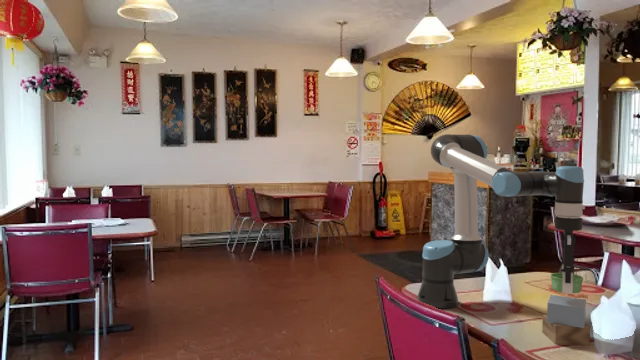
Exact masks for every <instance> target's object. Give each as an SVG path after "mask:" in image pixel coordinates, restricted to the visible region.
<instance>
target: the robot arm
mask: <svg viewBox="0 0 640 360" xmlns="http://www.w3.org/2000/svg"><path fill="white" fill-rule="evenodd" d="M430 146H431V147H430V155H431V158H432V159H433V160H434V161H435V162H436V163H437V164H439V165H440V166H443V167H444V168H449V170H450V171H451V172H452V173H453V174H454V177H453V178H454V179H453V180H454V182H453V186H454V189H453V190H454V191H453V192H454V235H453V236H451V239H450V240H449V239H448V240H447V239H441V240H439V239H437V240H436V239H435V240H432V241H428V242H426V243H425V244H424V245H423V247H422V255H421V256H422V283H421V285H420V288H419V291H418V293H417V300H419V301H421V302H423V303H426V304H429V305H432V306H435V307H437V308H436V309H452V308H454V307H457V306H458V305H459V297H458V294H457V290H456V287H455V285H454V279H455V278H454V277H455V276H454V275H457V274H465V273H467V274H468V273H475V272H480V271H482V270H483V269H484V268H486V266H487V265H488V262H489V258H490V255H489V249H488V248H487V245H486V244H485V243H484V242H483V238H482V237H481V236H480V235H479V231H478V229H479V228H478V227H479V226H478V224H479V223H478V219H479V218H478V181H479V182H481V183H484V184H485V185H487V186H489V187H490V188H492V190H493V192H494V193H495V195H497V196H498V197H507V198H510V197H522V196H550V197H551V196H552V197H555V200H554V201H555V202H554V214H555V215H556V216H555V217H554V228H555V229H556V230H560V231H562V233H561V234H560V241H561V242H560V244H561V246H560V247H561V269H560V273H563V284H562V292H561V294H567V295H569V294H570V295H573V294H574V293H573V274H574V272H575V271H574V270H575V268H574V255H575V253H574V251H575V249H576V247H575V245H576V242H577V241H576V240H577V236H576V235H574V231H576V232H577V231H578V232H579V231H582V230H583V218H582V216H583V210H585V209H586V207H585V206H584V205H583V202H584V201H583V200H584V199H583V197H584V183H585V179H584V176H585V175H584V168H583V167H581V166H577V165H575V166H571V165H570V166H569V165H562V166H561V165H560V166H557V167H556V169H555V170H556V171H555V172H553V171H551V172H550V171H539V170H537V171H536V170H534V171H515V170H512V169H510V168H508V167H506V166H504V165H503V166H502V165H500V164H498V163H496V162H493V161H491V160H489V159H487V156H488V147H487V144H486V142H485V141H484V140H483V139H482V137H480V136H479V135H473V134H449V133H448V134H446V133H445V134H442V135H439V136H438V137H436V139H434V141H433V142H432V144H431V145H430Z"/></svg>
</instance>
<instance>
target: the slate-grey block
mask: <svg viewBox="0 0 640 360" xmlns="http://www.w3.org/2000/svg"><path fill="white" fill-rule="evenodd" d="M547 301H548V302H547V306H546V307H547V311H546V315H547V322H549V323H555V324H561V325H568V326H574V327H580V328H584V326H585V323H586V318H587V317H586V316H587V315H586V314H587V313H586V311H587V299H586V298H585V299H584V298H577V297H570V296H563V295H553V294H550V296H549V299H548V300H547Z"/></svg>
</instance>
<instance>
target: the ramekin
mask: <svg viewBox="0 0 640 360" xmlns="http://www.w3.org/2000/svg"><path fill="white" fill-rule="evenodd" d="M550 278H551V289H552V290H554V291H556V292H560V293H562V284H563V273H561V272H553V273H551V274H550ZM583 281H584V277H583V276H581V275H579V274H575V273H573V294H579V293H581V292H582V287H583Z"/></svg>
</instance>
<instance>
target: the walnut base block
mask: <svg viewBox="0 0 640 360" xmlns="http://www.w3.org/2000/svg"><path fill="white" fill-rule="evenodd" d="M541 328H542V330H541V331H542V334H543V335H544V336H546V338H548V339H549V340H550V341H551V342H552V343H553V344H554V345H556V344H560V345H562V346H567V345H568V346H590V345H591V343H590V342H591V326H590V325H589V324H587V323H586V322H585V326H584V328H580V327H574V326H568V325H561V324H555V323H549V322H547V314H542V327H541ZM560 345H559V346H560Z"/></svg>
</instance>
